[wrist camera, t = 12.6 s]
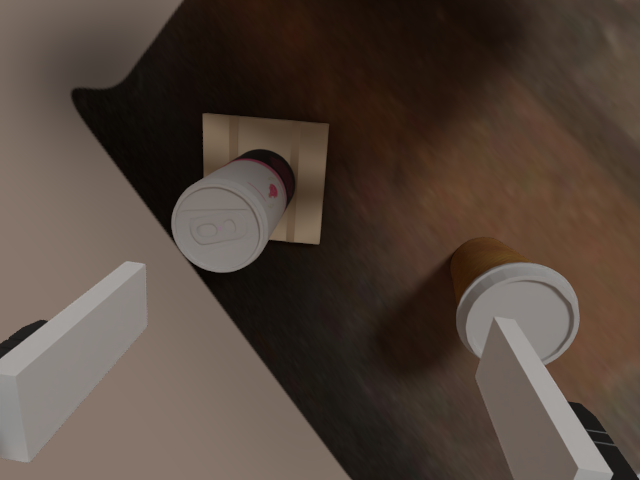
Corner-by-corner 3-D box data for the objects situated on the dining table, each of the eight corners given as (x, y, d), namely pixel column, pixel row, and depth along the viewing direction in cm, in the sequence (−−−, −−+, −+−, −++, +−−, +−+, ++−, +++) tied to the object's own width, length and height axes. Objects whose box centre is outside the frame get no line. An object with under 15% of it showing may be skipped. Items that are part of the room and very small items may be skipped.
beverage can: (222, 155, 42) (155, 190, 28) (288, 142, 41) (252, 172, 27) (240, 218, 44) (185, 281, 30) (302, 208, 43) (275, 267, 29)
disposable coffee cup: (418, 284, 46) (437, 348, 35) (463, 206, 43) (501, 249, 32) (496, 319, 47) (540, 392, 36) (547, 245, 44) (612, 300, 33)
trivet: (206, 113, 42) (202, 114, 41) (329, 123, 42) (328, 124, 40) (208, 229, 46) (204, 233, 45) (319, 240, 46) (318, 244, 44)
